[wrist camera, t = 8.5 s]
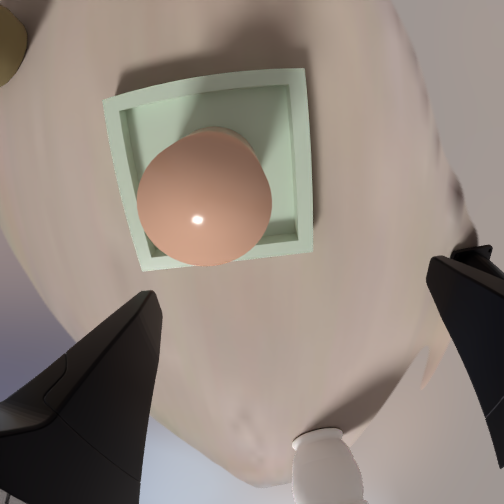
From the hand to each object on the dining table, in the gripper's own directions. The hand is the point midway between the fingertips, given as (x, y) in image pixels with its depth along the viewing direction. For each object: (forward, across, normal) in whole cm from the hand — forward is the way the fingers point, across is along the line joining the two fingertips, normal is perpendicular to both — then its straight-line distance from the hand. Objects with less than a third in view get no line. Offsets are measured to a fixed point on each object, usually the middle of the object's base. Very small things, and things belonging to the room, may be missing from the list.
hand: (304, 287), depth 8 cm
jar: (+12, -6, +41) cm, 43 cm away
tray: (+12, +3, -1) cm, 12 cm away
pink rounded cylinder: (+11, +3, -2) cm, 12 cm away
